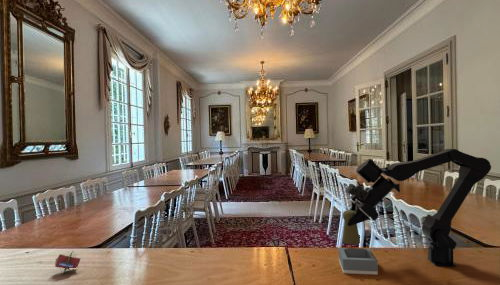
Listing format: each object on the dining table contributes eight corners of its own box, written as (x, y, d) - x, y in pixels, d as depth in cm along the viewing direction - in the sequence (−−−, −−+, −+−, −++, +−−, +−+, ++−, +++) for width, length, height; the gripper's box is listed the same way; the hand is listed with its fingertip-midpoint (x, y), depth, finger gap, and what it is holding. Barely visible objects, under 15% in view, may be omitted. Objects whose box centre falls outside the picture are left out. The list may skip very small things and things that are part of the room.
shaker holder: (370, 261, 107) (369, 248, 107) (377, 274, 96) (377, 260, 96) (338, 260, 109) (338, 247, 109) (343, 273, 98) (343, 259, 98)
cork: (363, 243, 106) (362, 212, 106) (347, 245, 105) (346, 213, 105) (354, 238, 112) (353, 208, 112) (339, 239, 111) (338, 209, 111)
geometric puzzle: (87, 259, 109) (71, 243, 108) (83, 266, 103) (66, 250, 101) (69, 274, 108) (53, 258, 106) (64, 282, 101) (46, 265, 100)
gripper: (354, 173, 117) (326, 202, 119) (366, 179, 99) (333, 213, 100) (377, 193, 116) (348, 222, 118) (393, 203, 97) (358, 237, 99)
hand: (346, 223), depth 109 cm, fingers closed on cork, 5 cm apart
